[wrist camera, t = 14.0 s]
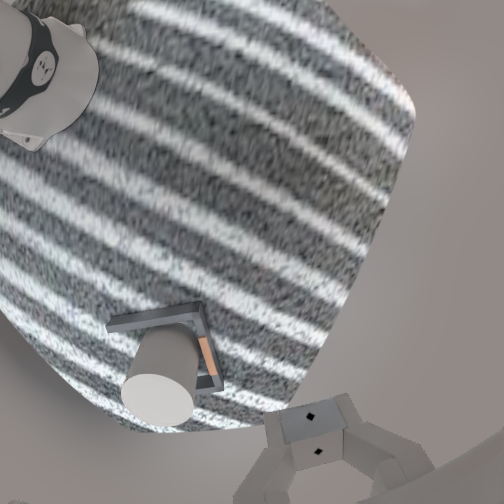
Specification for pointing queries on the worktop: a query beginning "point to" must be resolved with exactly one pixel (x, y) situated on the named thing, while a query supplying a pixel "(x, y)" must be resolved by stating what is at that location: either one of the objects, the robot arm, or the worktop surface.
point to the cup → (163, 376)
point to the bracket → (175, 315)
